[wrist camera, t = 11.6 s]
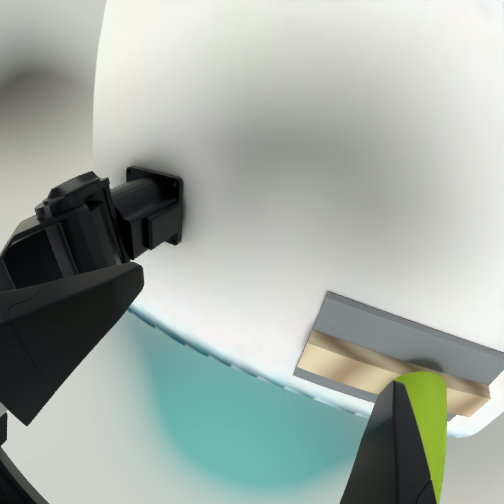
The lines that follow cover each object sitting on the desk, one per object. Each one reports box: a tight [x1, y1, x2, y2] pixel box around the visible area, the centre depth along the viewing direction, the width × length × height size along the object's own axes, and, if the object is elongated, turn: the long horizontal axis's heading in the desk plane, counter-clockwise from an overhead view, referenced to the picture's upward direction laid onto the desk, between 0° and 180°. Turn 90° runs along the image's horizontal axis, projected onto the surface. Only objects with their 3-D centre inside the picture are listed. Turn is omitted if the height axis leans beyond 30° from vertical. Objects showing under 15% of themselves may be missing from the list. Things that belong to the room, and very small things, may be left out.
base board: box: [293, 292, 504, 421], centre depth 22 cm, size 20×11×1 cm, turn 81°
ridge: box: [297, 330, 490, 417], centre depth 21 cm, size 20×4×2 cm, turn 81°
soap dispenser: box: [394, 371, 447, 504], centre depth 12 cm, size 6×7×20 cm
